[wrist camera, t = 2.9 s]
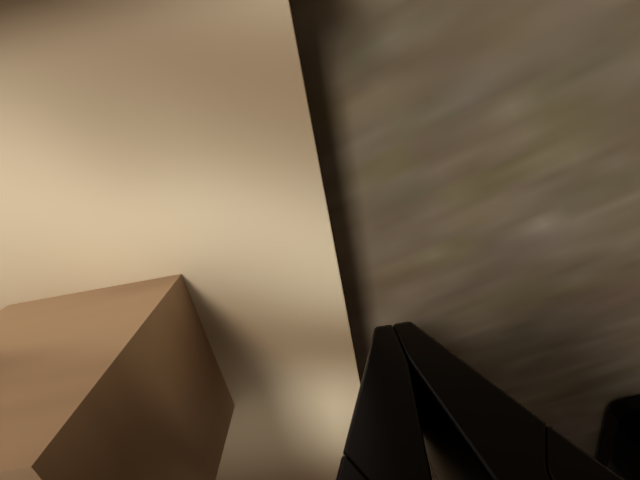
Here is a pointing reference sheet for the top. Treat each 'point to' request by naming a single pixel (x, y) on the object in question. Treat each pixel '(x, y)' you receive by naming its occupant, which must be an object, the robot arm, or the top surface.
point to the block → (111, 387)
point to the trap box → (184, 199)
